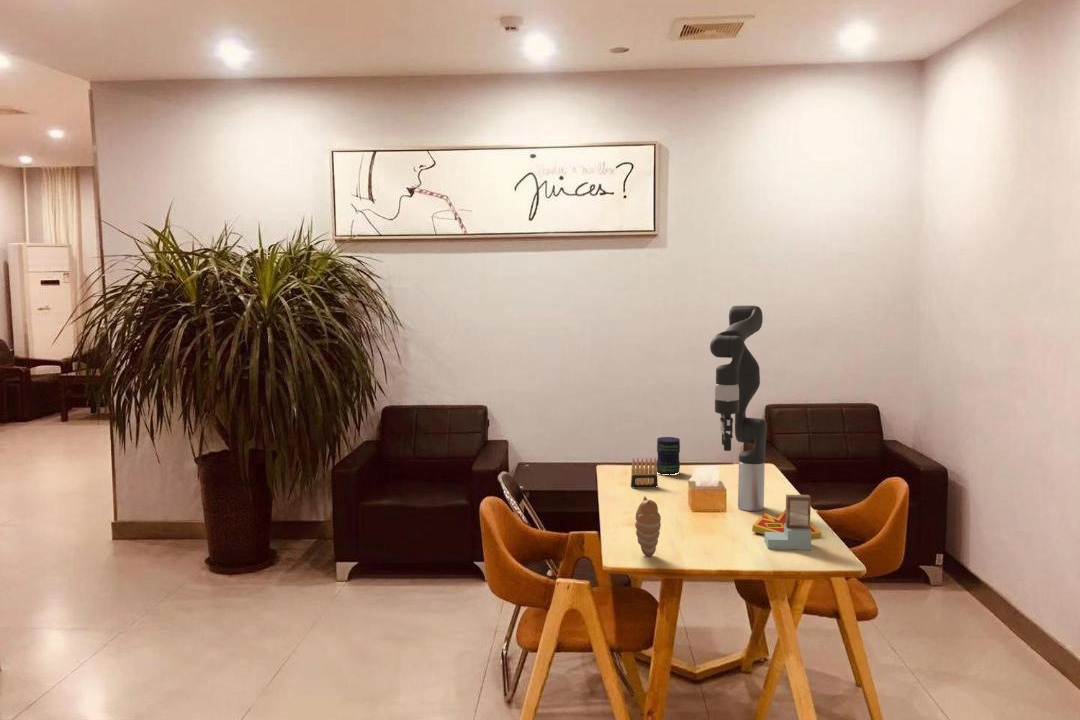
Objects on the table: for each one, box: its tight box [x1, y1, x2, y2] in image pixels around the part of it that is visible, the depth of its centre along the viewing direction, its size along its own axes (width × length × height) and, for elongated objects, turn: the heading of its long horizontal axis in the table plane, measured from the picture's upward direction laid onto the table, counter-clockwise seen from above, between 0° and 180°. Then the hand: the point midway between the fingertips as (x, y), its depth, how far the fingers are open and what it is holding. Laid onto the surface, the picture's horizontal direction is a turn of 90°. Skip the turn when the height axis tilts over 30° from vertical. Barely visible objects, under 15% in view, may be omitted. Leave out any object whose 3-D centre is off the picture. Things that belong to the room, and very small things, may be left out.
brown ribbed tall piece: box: [634, 495, 662, 557], centre depth 260 cm, size 9×8×18 cm
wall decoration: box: [751, 508, 822, 539], centre depth 290 cm, size 22×31×4 cm
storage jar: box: [656, 436, 681, 475], centre depth 368 cm, size 10×10×15 cm
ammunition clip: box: [630, 457, 659, 488], centre depth 345 cm, size 11×2×12 cm, turn 93°
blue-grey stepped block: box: [764, 523, 812, 551], centre depth 270 cm, size 8×13×6 cm, turn 83°
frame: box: [785, 494, 812, 529], centre depth 269 cm, size 3×7×10 cm, turn 83°
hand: (726, 447), depth 275 cm, fingers open, 8 cm apart
